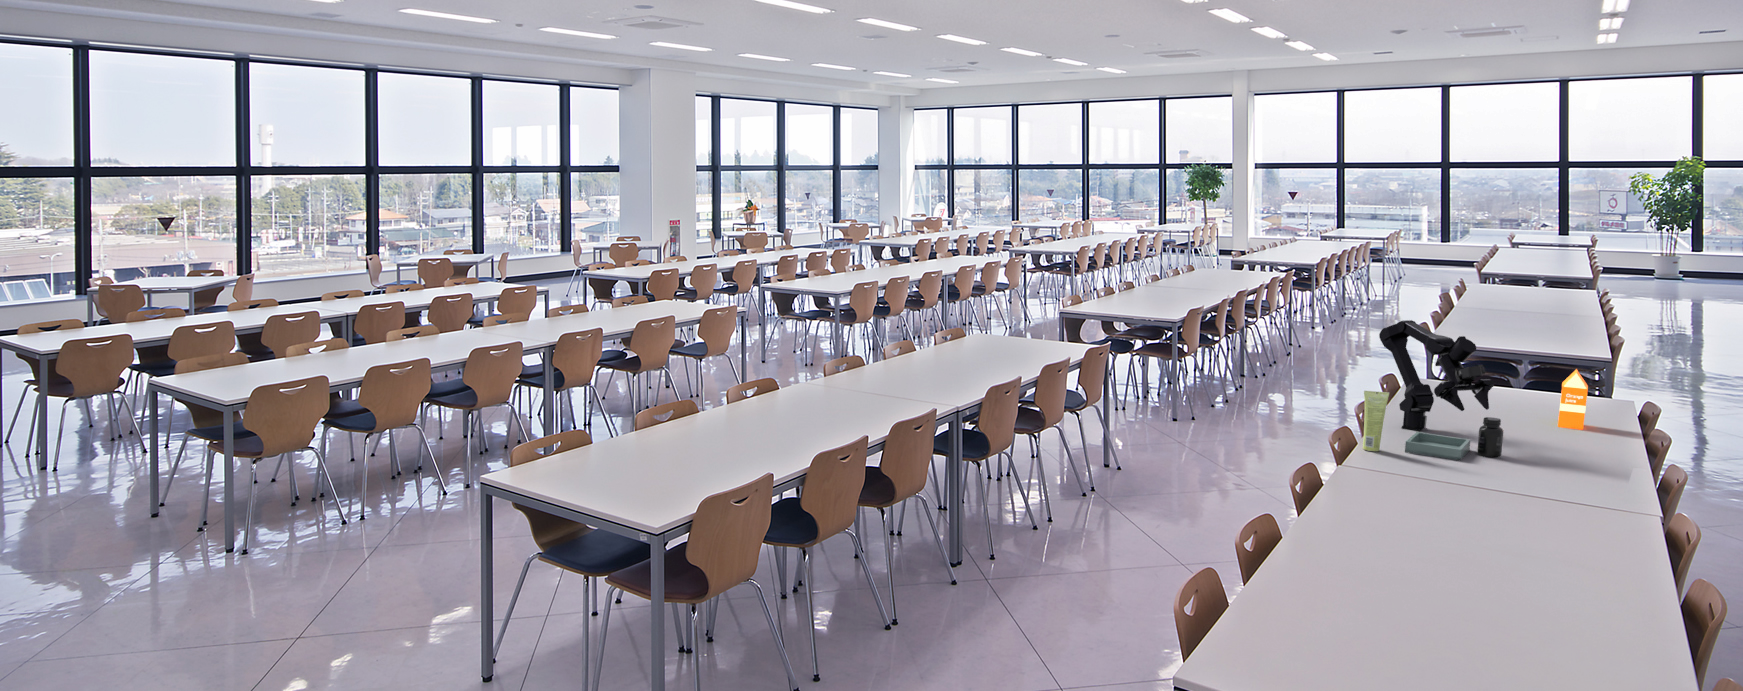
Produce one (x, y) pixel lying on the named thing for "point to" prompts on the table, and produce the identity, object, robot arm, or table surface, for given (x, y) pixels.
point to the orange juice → (1573, 402)
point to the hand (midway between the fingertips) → (1475, 409)
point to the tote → (1437, 446)
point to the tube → (1374, 419)
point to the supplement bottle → (1490, 438)
